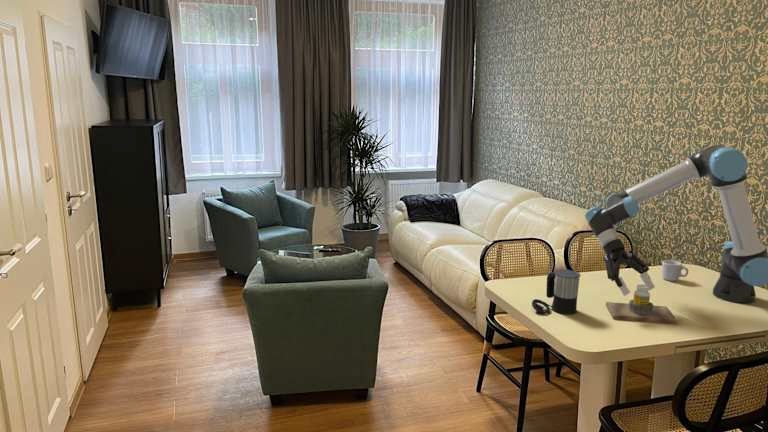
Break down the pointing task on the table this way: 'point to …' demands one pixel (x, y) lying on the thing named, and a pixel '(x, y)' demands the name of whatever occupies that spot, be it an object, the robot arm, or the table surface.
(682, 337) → the table surface
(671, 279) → the cup
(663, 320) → the collar board
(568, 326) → the table surface
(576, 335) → the table surface
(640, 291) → the supplement bottle
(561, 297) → the milk frother
